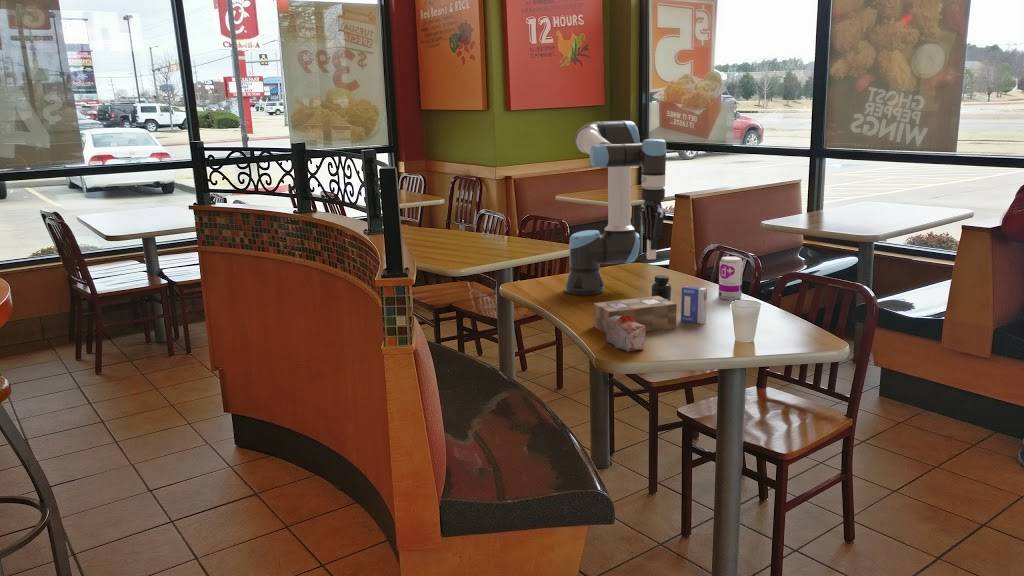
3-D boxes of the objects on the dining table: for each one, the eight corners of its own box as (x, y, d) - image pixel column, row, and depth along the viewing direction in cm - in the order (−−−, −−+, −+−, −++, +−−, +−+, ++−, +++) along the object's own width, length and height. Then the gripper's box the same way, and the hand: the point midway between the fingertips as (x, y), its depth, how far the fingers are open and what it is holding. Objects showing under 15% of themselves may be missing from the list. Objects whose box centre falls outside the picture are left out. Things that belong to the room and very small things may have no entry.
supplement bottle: (670, 312, 286) (671, 278, 284) (650, 311, 288) (651, 278, 285) (670, 307, 293) (671, 274, 290) (651, 306, 294) (652, 274, 292)
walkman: (680, 321, 276) (681, 286, 273) (683, 319, 278) (685, 284, 275) (703, 324, 271) (704, 289, 268) (706, 322, 273) (707, 287, 271)
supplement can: (732, 301, 299) (734, 261, 296) (713, 297, 305) (715, 258, 302) (745, 297, 304) (747, 258, 301) (726, 293, 310) (728, 255, 307)
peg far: (640, 321, 273) (640, 300, 271) (653, 319, 274) (654, 299, 273) (647, 324, 268) (648, 304, 267) (661, 323, 270) (661, 302, 268)
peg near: (607, 325, 269) (608, 304, 267) (621, 323, 270) (621, 302, 269) (614, 329, 264) (615, 308, 263) (628, 327, 266) (628, 306, 264)
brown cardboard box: (593, 326, 271) (593, 303, 269) (657, 318, 279) (658, 295, 277) (609, 336, 260) (610, 311, 258) (676, 327, 268) (676, 303, 266)
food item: (649, 350, 245) (649, 319, 243) (627, 355, 242) (627, 323, 239) (622, 339, 257) (623, 309, 255) (601, 343, 253) (601, 312, 251)
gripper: (633, 185, 270) (632, 255, 276) (652, 190, 258) (650, 263, 264) (653, 184, 272) (651, 253, 279) (673, 189, 261) (671, 261, 267)
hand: (651, 258), depth 271 cm, fingers closed
